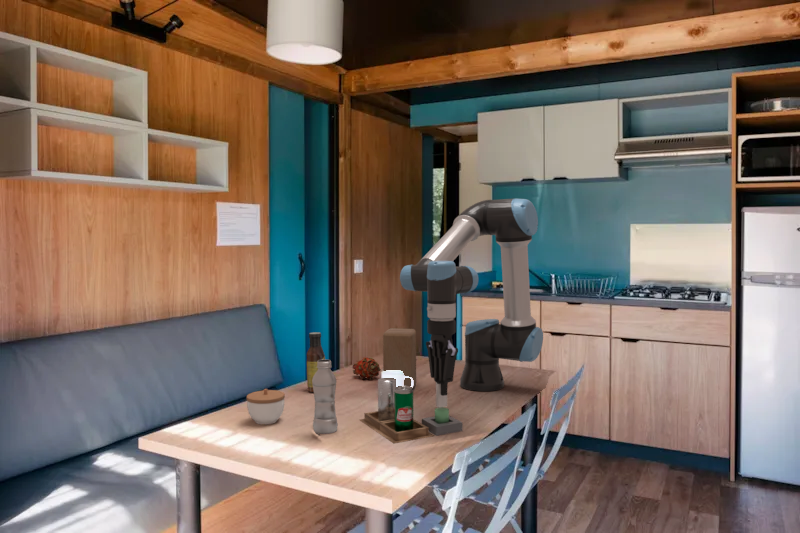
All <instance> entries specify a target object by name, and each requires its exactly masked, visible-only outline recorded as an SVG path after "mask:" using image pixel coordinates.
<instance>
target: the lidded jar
mask: <svg viewBox="0 0 800 533" xmlns="http://www.w3.org/2000/svg"><path fill="white" fill-rule="evenodd" d="M285 394H286V393H285V392H283V391H282V390H275V389H268V388H264V389H263V390H258V391H253V392H250V393H248V394H247V395H246V405H247V411H248V414H249V417H250V418H251V419H252V420H253V421H254V422H255V424H257V425H262V424H265V425H272V424H275V423H276V422H278V420H279V419H280V418H281V416H282V415H283V412H284V409H285V398H286V396H285Z"/></svg>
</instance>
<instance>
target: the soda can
mask: <svg viewBox="0 0 800 533" xmlns="http://www.w3.org/2000/svg"><path fill="white" fill-rule="evenodd" d="M413 419H414V391H413V389H412V387H410V386H398V387H396V390H395V391H394V430H395V431H396V432H401V431H406V430H412V429H414V426H413Z"/></svg>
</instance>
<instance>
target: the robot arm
mask: <svg viewBox="0 0 800 533" xmlns="http://www.w3.org/2000/svg"><path fill="white" fill-rule="evenodd" d="M538 226H539V217H538V212H537V209H536V207H535V206H534V203H533V202H532V201H530V200H529V199H526V198H504V199H503V198H501V199H484V200H480V201H478V202H476V203H474V204H472V205H470V206H469V207H467V208H466V209H464V210H463V211H462V212H460V213H459V215H457V216H456V217H455V218H454V220H453V223H452V226H451V227H450V228H449V229H448V230H447V231H446V232H445V234H443V236H442V237H441V238H440V239H439V240H438V241H437V242H436V243H435V244H434V245H433V246H432V247H431V248H430V249H429V251H427V253H426V254H425V255H424V256H423V257H422V258H420V260H419V261H418V262H417V263H416V264H408V265H404V266H403V267H402V269H401V270H400V273H399V274H400V275H399V282H400V284H401V287H402V288H403V289H404V290H406V291H413V292H427V307H426V311H427V318H429V319H428V320H427V328H426V329H427V331H426V332H427V333H428V334H429V335H431V336H430V340H429V341H426V342H425V346H426V349H427V354H428V355H427V356H428V364H429V372H430V377H431V379H433V382H435V407H436V408H440V407H444V408H447V407H448V393H449V392H448V389H449V388H448V386H449V385H448V384H449V383H451V382H453V380H454V374H455V368H456V367H455V366H456V358H457V355H458V353H459V349H458V347H454V345H453V339H452V337H453V335H454V334H455V333H456V332H457V330H456V323H457V322H456V320H455V318H456V316H457V315H456V314H457V313H456V312H457V309H456V308H457V307H456V306H457V303H456V299H457V298H456V296H457V295H459V294H467V293H470V292H472V291H474V290H476V288H477V286H478V284H479V274H478V272H477V271H476V269H474V268H473V267H471V266H468V265H460V266H456V263H455V262H454V260H456V259H457V257H458V256H459V255H460V254H461V253H462V251H463V250H465V248H466V247H467V246H468V245H469V243H471V242H475V241H476V240H477V239H479V237H482V236H495V242H496V243H497V244H498V245H499V246H500V253H501V254H500V255H501V272H502V274H501V276H502V277H501V278H502V289H503V290H502V291H503V309H504V311H503V312H504V317H503V318H502V319H501V320H499V319H498V318H497V319H496V318H487V319H478V320H473V321H469V322H468V323H466V324H465V329H464V330H465V331H464V342H465V343H464V345H465V346H464V361H465V363H464V367H463V370H462V373H461V376H460V379H459V384H460V385H459V386H460V387H461V388H463V389H465V390H468V391H474V392H475V391H476V392H493V391H498V390H502V389H503V388H505V380H504V377H503V373H502V370H501V367H500V361H499V360H510V361H515V362H516V361H517V362H522V363H524V362H527V363H532V362H534V361H536V360H537V359H538V357H539V355H540V353H541V351H542V347H543V342H544V333H543V329H542V328H541V327H539V326H537V321H536V319H535V318H534V317H533V316H532V312H531V310H532V309H531V291H530V290H531V289H530V274H529V272H530V271H529V270H530V269H529V268H530V267H529V249H528V245H529V243H531V242H532V240H533V236H534V235H535V234H536V233H537V231H538Z"/></svg>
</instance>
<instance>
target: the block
mask: <svg viewBox="0 0 800 533" xmlns="http://www.w3.org/2000/svg"><path fill="white" fill-rule="evenodd" d="M382 346H383V347H382V354H383V355H382V356H383V357H382V361H383V362H382V365H383V367H382V368H383V371H386V370H401V371H403V373H404V375H405V376H409V377H412V378H413V380H414V387H415V386H416V384H417V331H416V329H415V328H392V327H390V328H389V329H387V330H386V331H384V332H383V334H382ZM383 371H382V372H383ZM404 386H411V379H410V378H405V380H404Z"/></svg>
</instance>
